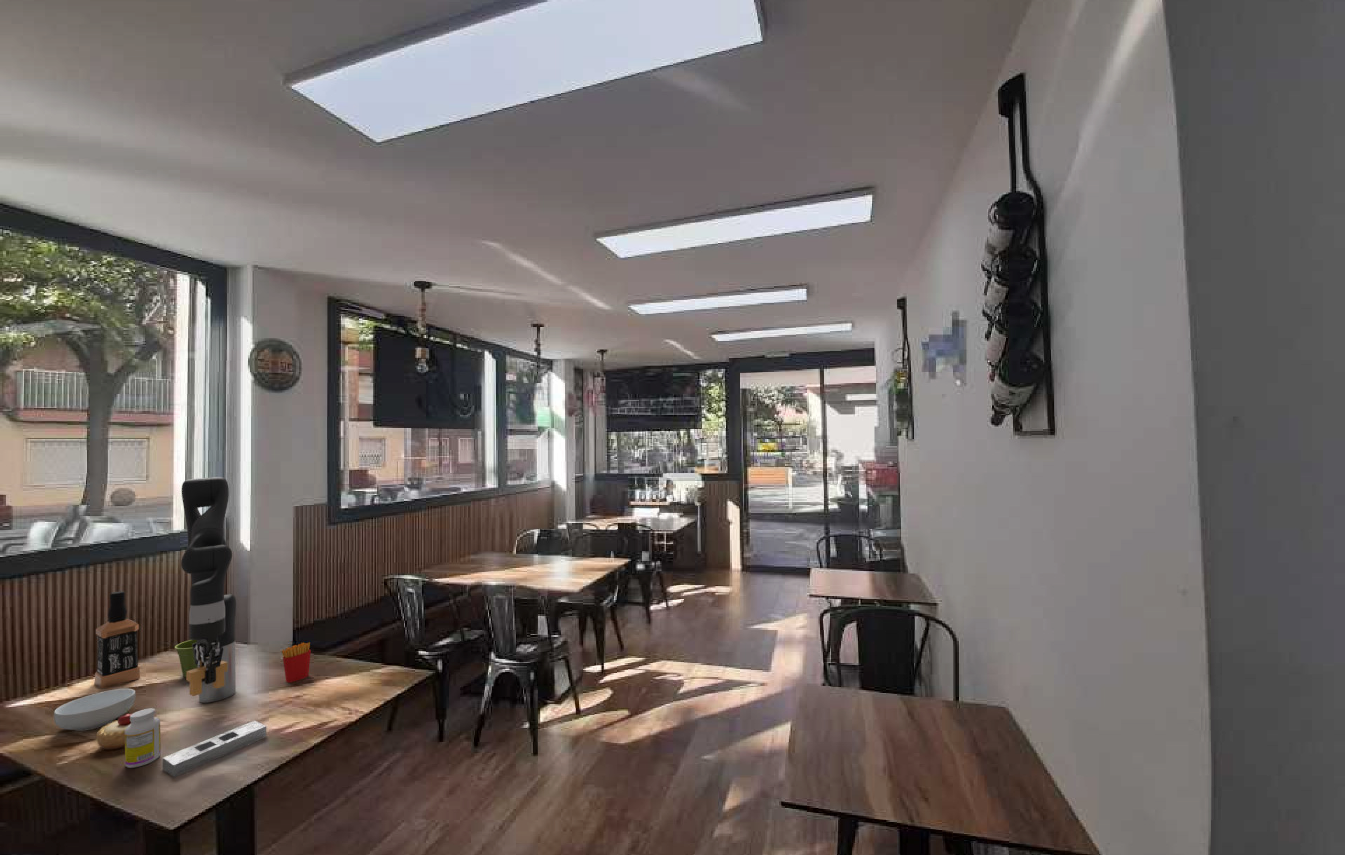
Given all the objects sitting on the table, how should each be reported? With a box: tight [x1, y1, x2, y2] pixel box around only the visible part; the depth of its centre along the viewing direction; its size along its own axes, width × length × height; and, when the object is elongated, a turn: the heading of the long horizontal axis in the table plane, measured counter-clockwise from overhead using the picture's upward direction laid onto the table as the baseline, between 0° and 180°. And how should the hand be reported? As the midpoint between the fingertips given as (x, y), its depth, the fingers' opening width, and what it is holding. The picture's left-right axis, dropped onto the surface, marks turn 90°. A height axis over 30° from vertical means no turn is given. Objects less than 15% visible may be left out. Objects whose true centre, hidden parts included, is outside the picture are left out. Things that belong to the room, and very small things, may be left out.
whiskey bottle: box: [94, 590, 141, 690], centre depth 190 cm, size 10×10×32 cm
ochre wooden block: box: [185, 661, 228, 697], centre depth 145 cm, size 3×8×6 cm, turn 150°
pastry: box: [95, 708, 157, 751], centre depth 149 cm, size 12×12×9 cm
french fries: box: [281, 642, 312, 683], centre depth 187 cm, size 8×4×12 cm, turn 147°
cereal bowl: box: [53, 688, 136, 732], centre depth 159 cm, size 17×17×7 cm
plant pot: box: [174, 639, 198, 678], centre depth 194 cm, size 12×12×11 cm
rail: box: [162, 720, 267, 778], centre depth 142 cm, size 7×20×3 cm, turn 151°
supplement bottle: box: [124, 707, 162, 769], centre depth 139 cm, size 7×7×13 cm
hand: (207, 681), depth 145 cm, fingers closed on ochre wooden block, 3 cm apart
